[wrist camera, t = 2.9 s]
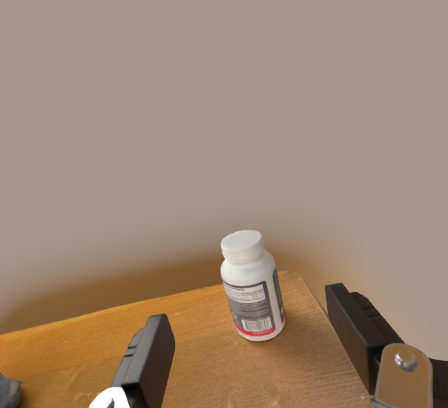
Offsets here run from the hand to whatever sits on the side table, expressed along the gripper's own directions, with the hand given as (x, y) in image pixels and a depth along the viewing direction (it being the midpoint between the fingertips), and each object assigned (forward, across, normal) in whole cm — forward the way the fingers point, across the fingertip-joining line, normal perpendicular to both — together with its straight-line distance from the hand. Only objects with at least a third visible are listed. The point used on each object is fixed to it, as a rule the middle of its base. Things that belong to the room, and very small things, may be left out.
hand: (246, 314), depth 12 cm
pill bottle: (+11, 0, +11) cm, 16 cm away
